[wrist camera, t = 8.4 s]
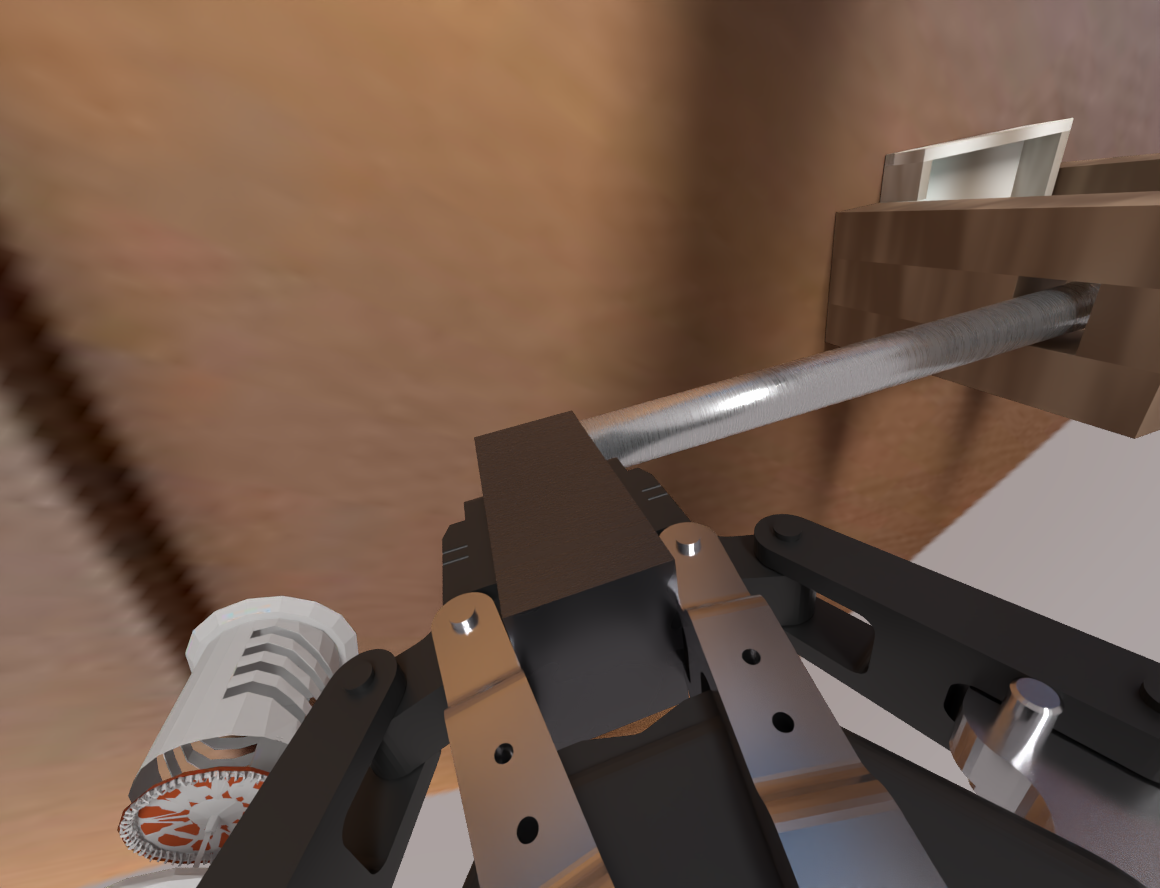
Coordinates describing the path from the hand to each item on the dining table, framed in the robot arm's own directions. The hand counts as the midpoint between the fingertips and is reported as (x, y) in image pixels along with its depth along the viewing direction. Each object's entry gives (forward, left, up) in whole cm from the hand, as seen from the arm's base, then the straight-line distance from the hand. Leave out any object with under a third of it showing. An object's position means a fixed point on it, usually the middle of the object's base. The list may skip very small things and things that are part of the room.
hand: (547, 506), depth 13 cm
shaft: (0, +11, -4) cm, 12 cm away
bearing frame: (0, +29, -15) cm, 33 cm away
